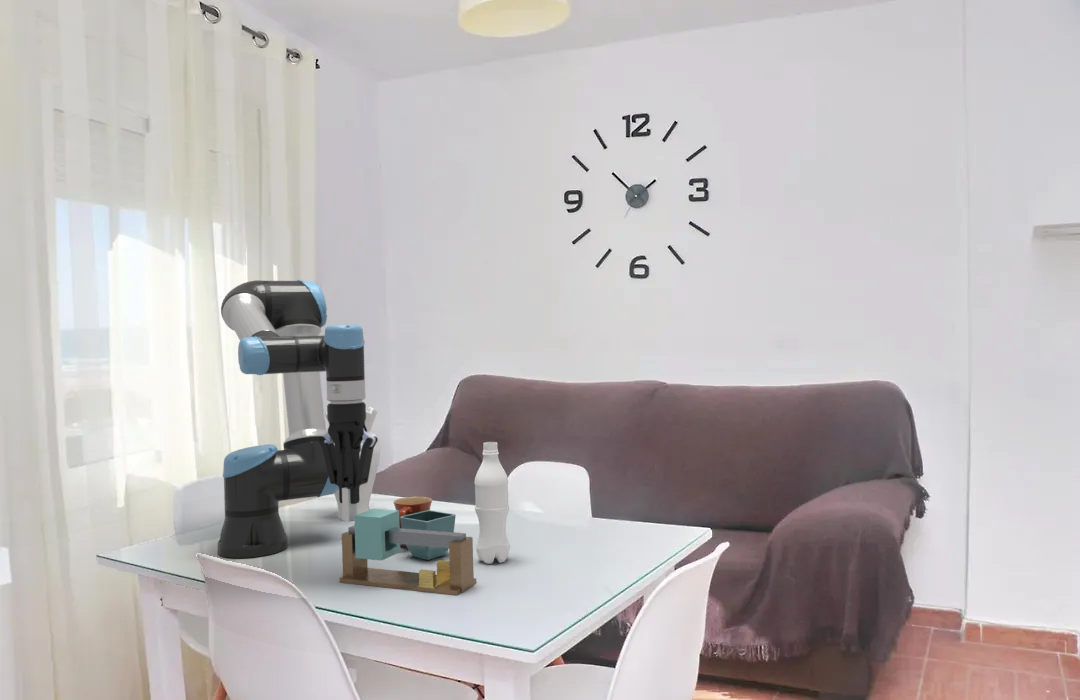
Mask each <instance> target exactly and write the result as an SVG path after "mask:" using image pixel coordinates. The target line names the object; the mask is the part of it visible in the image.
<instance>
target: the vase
mask: <svg viewBox="0 0 1080 700" xmlns="http://www.w3.org/2000/svg"><path fill="white" fill-rule="evenodd" d="M377 413H378V411H377V410H376V409H375V408H373V407H371V406H369V407H368V408H366V420H365V426H366V428H367V433H368V434H370V435H371V436H372V437H374V436H376V437H377V438H378V436H377V434H375V433H374V432H373V431H372V427H373V424H374V421H375V419H376V416H377ZM324 417H325V419H326V421H327V423H328V424H329V421H328V419H327V410H326V411H325V412H324ZM362 441H363V440H362ZM334 445H335V444H334ZM362 446H363V444H362V442H361V449H362ZM380 453H381V447H380V441H379V438H378V441H377V443H376V445H375V446H374V449H373V455H372V460H371V466H370V472H369V477H368V482H367V483H365V484H362V485H360V487H359V498H360V500H359V503H357V515H358V514H361V513H363V512H366V511H369V510H370V501H371V496H372V493H373V488H374V485H375V480H376V477H377V471H378V468H379V465H380V456H381V455H380ZM359 455H361V451H360V453H359ZM333 495H334V497H335V500H336V503H337V504H336V505H337V509H338V511H337V513H338V516H337V517H338V519H339V520H340V521H343V507H342V503H340V501H339V489H338V491H337V492H335V493H334V494H333ZM351 521H352V522H355V519H354V520H351ZM351 521H350V522H351Z"/></svg>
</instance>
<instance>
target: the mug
mask: <svg viewBox="0 0 1080 700" xmlns="http://www.w3.org/2000/svg"><path fill="white" fill-rule="evenodd" d="M432 502H433V499H432V498H431V497H428V496H407V497H402V498H397V499H395V500H394V501H393V504H394V505H393V506H394V507H395V510H399V527H400V528H402V526H401V519H400V517H402V516H406V515H410V514H414V513H419V512H423V511H428V510H431V506H432ZM400 547H402V548H405V549H408V548H407V546H406V544H400Z"/></svg>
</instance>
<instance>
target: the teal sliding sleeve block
mask: <svg viewBox="0 0 1080 700" xmlns="http://www.w3.org/2000/svg"><path fill="white" fill-rule="evenodd" d="M354 519H355V521H354V525H355V552H356V558H360V559H367V560H372V561H384V560H386V559H388V558H391V557H393V556H395V555H397V554H399V553H400V552H401V545H400V544H395V543H385V531H387V530H390V529H392V528H400V527H399V510H396V509H379V508H372V509H369V511H366V512H363V513H361V514H358V515H355V516H354Z"/></svg>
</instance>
